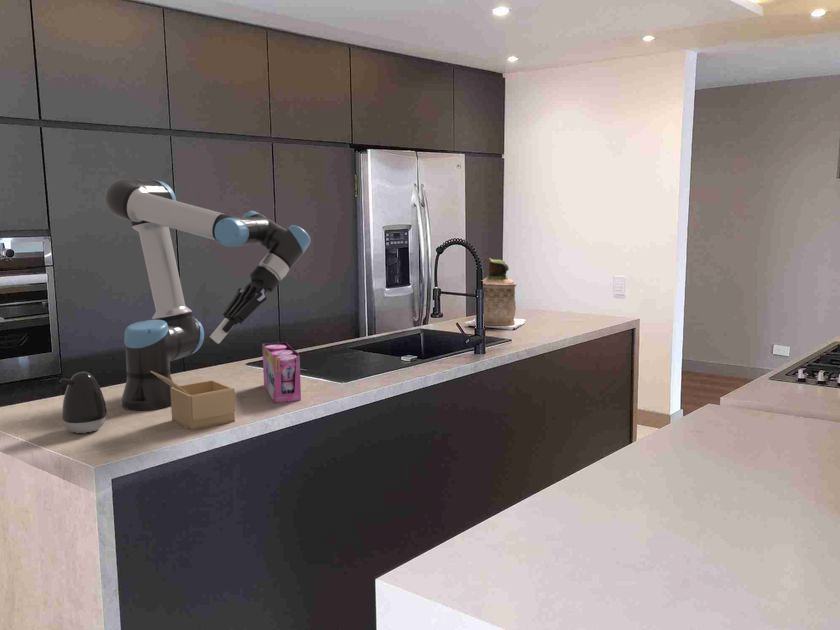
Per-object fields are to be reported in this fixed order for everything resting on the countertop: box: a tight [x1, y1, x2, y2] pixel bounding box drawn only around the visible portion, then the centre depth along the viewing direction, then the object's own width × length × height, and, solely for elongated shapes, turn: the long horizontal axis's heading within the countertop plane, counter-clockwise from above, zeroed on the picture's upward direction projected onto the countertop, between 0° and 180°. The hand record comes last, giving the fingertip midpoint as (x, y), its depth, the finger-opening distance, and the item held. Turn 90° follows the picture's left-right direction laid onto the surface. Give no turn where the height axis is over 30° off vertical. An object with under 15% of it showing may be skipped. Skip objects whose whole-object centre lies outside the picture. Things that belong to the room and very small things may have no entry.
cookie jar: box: [464, 257, 527, 331], centre depth 339 cm, size 25×25×32 cm
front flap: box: [150, 371, 189, 395], centre depth 182 cm, size 11×7×1 cm
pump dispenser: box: [59, 371, 108, 434], centre depth 180 cm, size 10×10×15 cm
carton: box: [170, 379, 236, 432], centre depth 189 cm, size 13×12×9 cm
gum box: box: [262, 341, 302, 403], centre depth 216 cm, size 24×8×14 cm, turn 21°
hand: (214, 340), depth 189 cm, fingers closed
